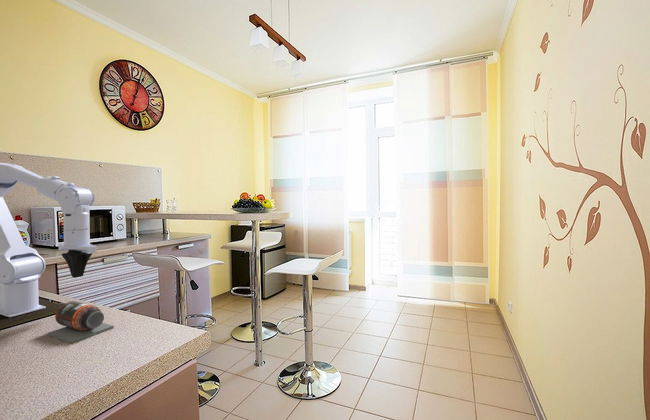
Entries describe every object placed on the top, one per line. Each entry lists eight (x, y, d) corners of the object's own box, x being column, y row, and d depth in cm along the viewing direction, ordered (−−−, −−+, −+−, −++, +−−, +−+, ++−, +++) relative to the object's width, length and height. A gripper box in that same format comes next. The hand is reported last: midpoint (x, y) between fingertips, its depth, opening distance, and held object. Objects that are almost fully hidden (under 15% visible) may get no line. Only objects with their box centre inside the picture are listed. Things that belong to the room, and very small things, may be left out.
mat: (47, 335, 71) (47, 332, 71) (89, 321, 79) (89, 319, 79) (72, 343, 67) (72, 340, 67) (113, 327, 76) (113, 325, 76)
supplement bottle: (71, 327, 77) (98, 336, 72) (47, 321, 72) (75, 329, 68) (86, 305, 80) (113, 311, 75) (64, 297, 75) (92, 304, 71)
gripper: (45, 229, 84) (46, 277, 85) (75, 231, 78) (76, 282, 79) (74, 227, 91) (75, 271, 91) (104, 229, 85) (104, 276, 85)
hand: (77, 276), depth 85 cm, fingers closed
